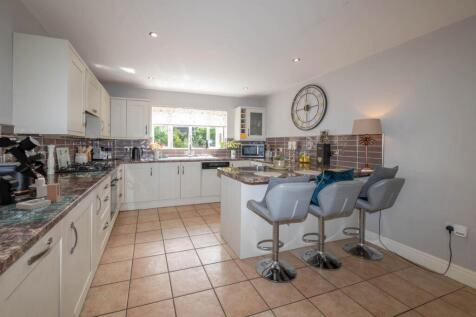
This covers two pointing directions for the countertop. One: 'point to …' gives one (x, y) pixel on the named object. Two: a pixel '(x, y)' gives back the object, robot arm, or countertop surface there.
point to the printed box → (38, 188)
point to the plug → (53, 192)
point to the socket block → (33, 204)
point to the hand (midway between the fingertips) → (42, 177)
